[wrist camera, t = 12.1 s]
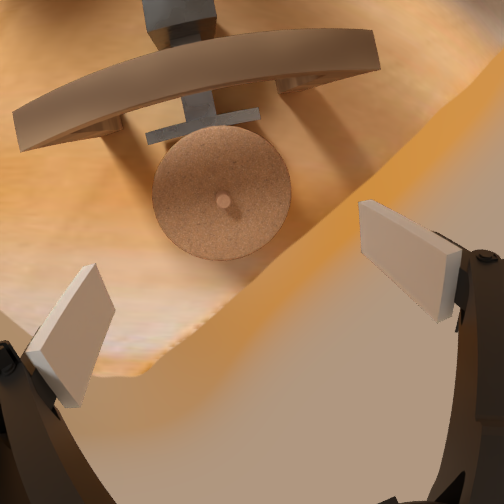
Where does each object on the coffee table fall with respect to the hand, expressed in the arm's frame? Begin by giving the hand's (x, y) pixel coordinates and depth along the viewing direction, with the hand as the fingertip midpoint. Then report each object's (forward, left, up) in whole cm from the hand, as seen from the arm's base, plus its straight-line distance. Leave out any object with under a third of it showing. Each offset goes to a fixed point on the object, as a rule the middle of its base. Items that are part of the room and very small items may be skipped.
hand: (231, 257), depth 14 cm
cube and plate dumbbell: (-12, 0, -17) cm, 21 cm away
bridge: (-9, 0, -17) cm, 20 cm away
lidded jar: (-1, 0, -18) cm, 18 cm away
